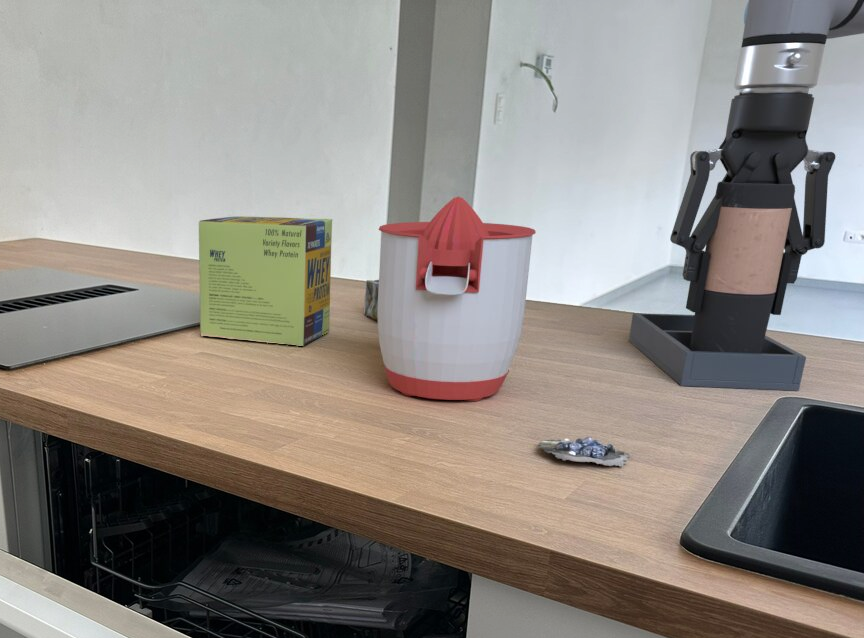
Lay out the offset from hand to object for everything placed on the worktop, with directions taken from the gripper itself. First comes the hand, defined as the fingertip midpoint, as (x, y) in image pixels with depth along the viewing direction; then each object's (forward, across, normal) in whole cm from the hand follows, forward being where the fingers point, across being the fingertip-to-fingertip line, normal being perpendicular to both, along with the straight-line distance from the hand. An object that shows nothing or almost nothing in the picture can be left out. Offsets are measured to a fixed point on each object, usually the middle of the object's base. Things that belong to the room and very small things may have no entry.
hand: (732, 311), depth 97 cm
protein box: (+8, -55, +13) cm, 57 cm away
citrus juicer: (+8, -32, -12) cm, 35 cm away
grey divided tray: (+7, 0, +6) cm, 9 cm away
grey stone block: (+8, -34, +23) cm, 42 cm away
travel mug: (+6, 0, 0) cm, 6 cm away
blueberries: (+8, -21, -31) cm, 39 cm away
